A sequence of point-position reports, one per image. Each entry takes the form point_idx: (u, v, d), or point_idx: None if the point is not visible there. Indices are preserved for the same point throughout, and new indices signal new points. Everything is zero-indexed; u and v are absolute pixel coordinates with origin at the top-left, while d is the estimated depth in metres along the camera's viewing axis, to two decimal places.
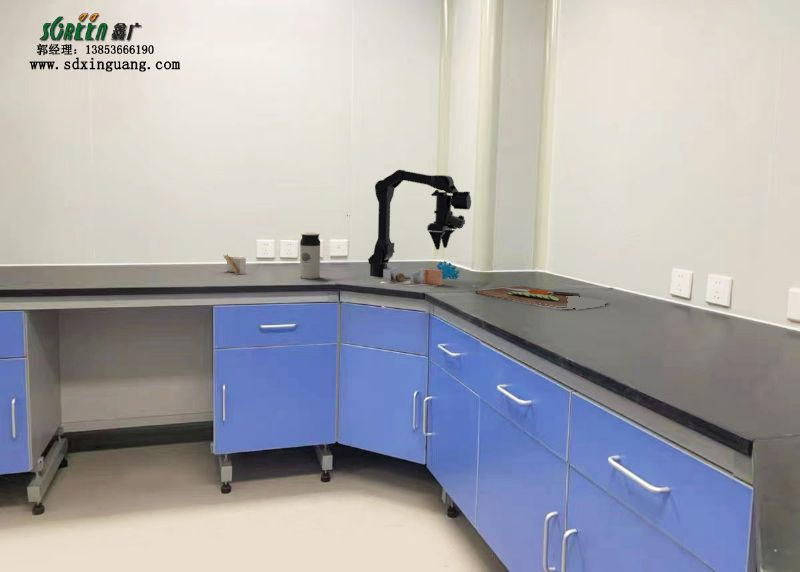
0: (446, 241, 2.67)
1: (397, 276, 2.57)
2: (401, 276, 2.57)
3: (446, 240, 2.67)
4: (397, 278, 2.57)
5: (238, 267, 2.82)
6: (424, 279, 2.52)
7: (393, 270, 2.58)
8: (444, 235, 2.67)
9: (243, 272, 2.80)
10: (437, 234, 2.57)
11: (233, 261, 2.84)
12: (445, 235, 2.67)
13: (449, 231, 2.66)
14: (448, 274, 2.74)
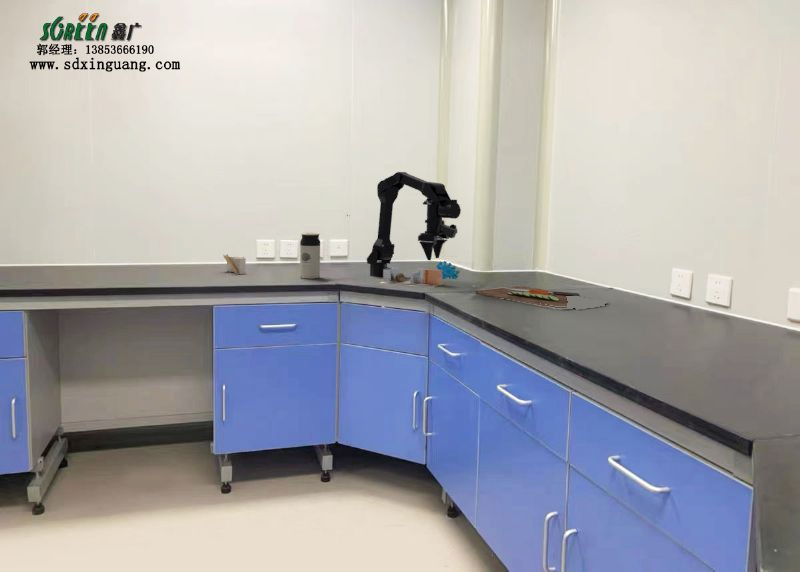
0: (438, 251, 2.56)
1: (397, 276, 2.57)
2: (401, 276, 2.57)
3: (438, 250, 2.56)
4: (397, 278, 2.57)
5: (238, 267, 2.82)
6: (424, 279, 2.52)
7: (393, 270, 2.58)
8: (436, 245, 2.57)
9: (243, 272, 2.80)
10: (428, 244, 2.47)
11: (233, 261, 2.84)
12: (437, 245, 2.57)
13: (441, 241, 2.56)
14: (448, 274, 2.75)
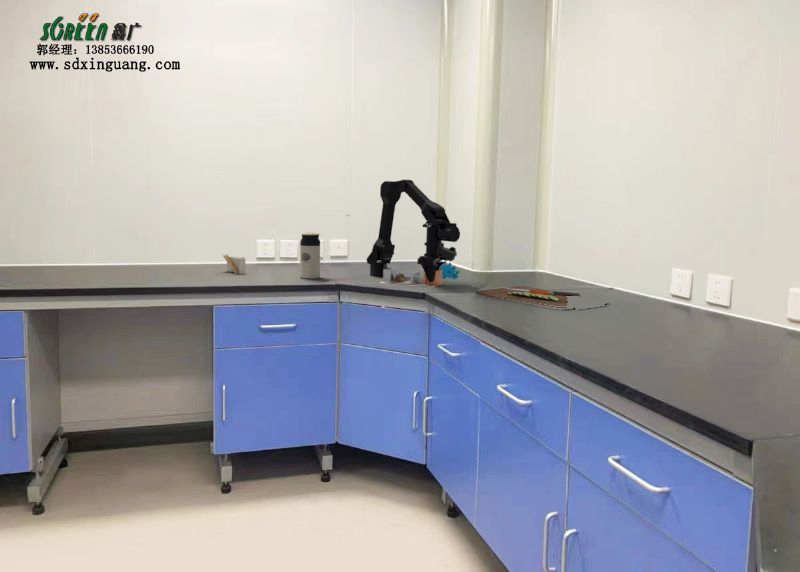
0: None
1: (397, 276, 2.57)
2: (401, 276, 2.57)
3: None
4: (397, 278, 2.57)
5: (238, 267, 2.82)
6: (424, 279, 2.52)
7: (393, 270, 2.58)
8: None
9: (243, 272, 2.80)
10: (429, 267, 2.50)
11: (233, 261, 2.84)
12: (434, 267, 2.56)
13: (439, 263, 2.55)
14: (448, 274, 2.75)
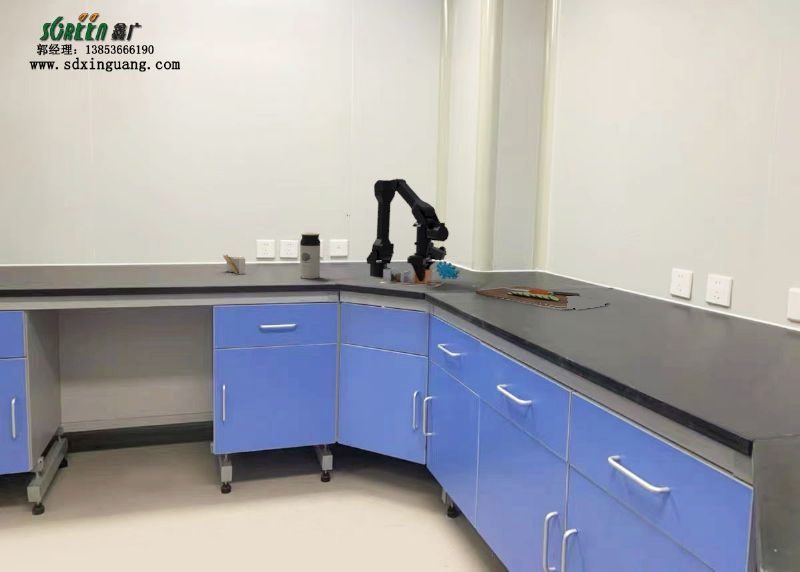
0: None
1: (396, 276, 2.58)
2: (400, 275, 2.57)
3: None
4: (396, 278, 2.58)
5: (238, 267, 2.82)
6: (414, 278, 2.54)
7: (393, 270, 2.58)
8: None
9: (243, 272, 2.80)
10: (419, 266, 2.51)
11: (233, 261, 2.84)
12: (425, 267, 2.57)
13: (429, 263, 2.57)
14: (447, 274, 2.75)
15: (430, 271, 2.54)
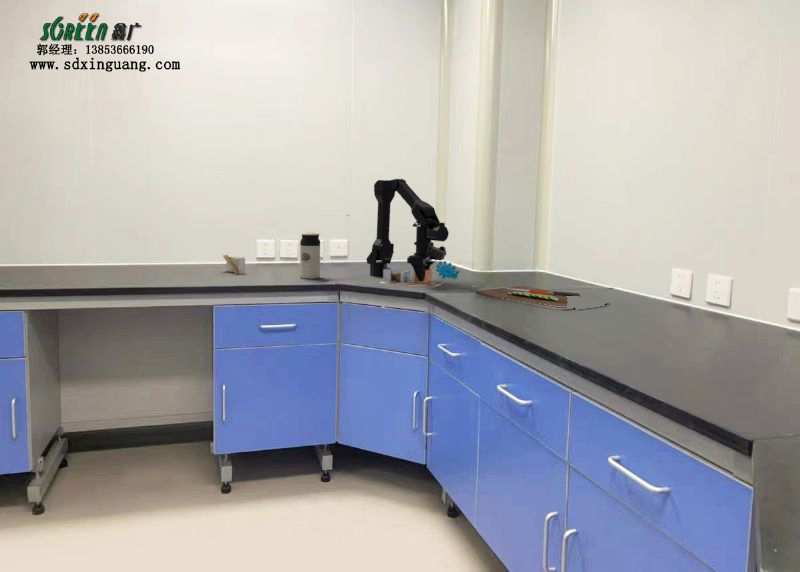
0: None
1: (396, 276, 2.58)
2: (399, 275, 2.57)
3: None
4: (396, 278, 2.58)
5: (237, 267, 2.82)
6: (414, 278, 2.54)
7: (393, 270, 2.58)
8: None
9: (242, 272, 2.80)
10: (419, 266, 2.51)
11: (232, 261, 2.84)
12: (424, 267, 2.57)
13: (428, 263, 2.57)
14: (447, 274, 2.75)
15: (430, 271, 2.54)
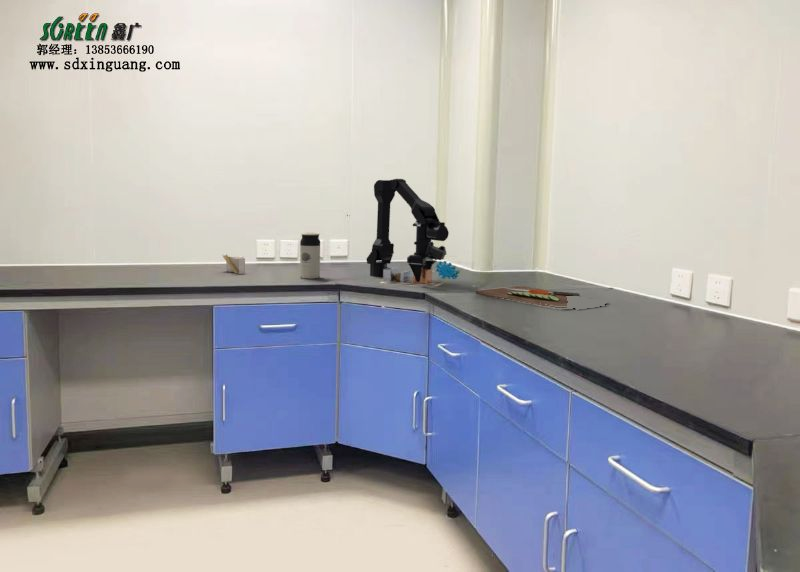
0: None
1: (396, 276, 2.58)
2: (400, 275, 2.57)
3: None
4: (396, 278, 2.58)
5: (237, 267, 2.82)
6: (414, 278, 2.54)
7: (393, 270, 2.58)
8: (425, 266, 2.59)
9: (242, 272, 2.80)
10: (417, 266, 2.49)
11: (232, 261, 2.84)
12: (426, 266, 2.59)
13: (430, 262, 2.59)
14: (447, 274, 2.75)
15: (430, 271, 2.54)
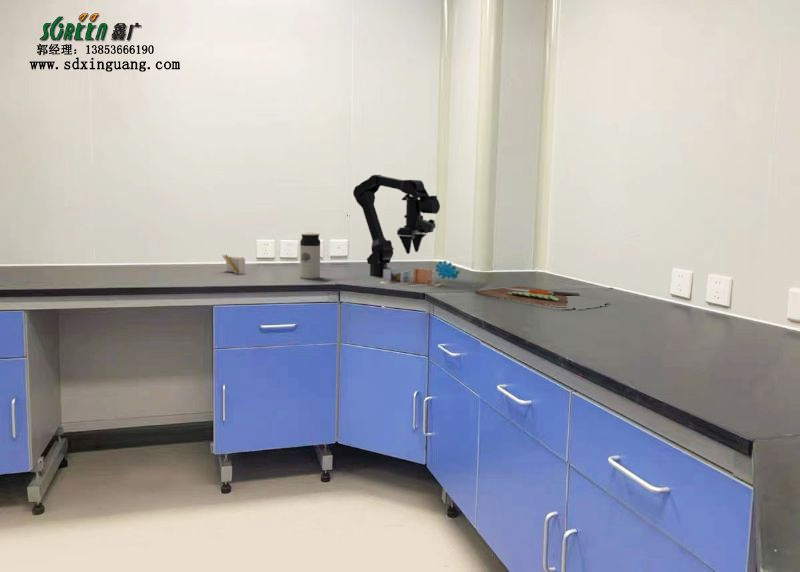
0: (417, 245, 2.68)
1: (396, 276, 2.58)
2: (400, 275, 2.57)
3: (417, 244, 2.68)
4: (396, 278, 2.58)
5: (237, 267, 2.82)
6: (414, 278, 2.54)
7: (393, 270, 2.58)
8: (415, 239, 2.68)
9: (242, 272, 2.80)
10: (407, 238, 2.58)
11: (232, 261, 2.84)
12: (416, 239, 2.68)
13: (420, 235, 2.67)
14: (447, 274, 2.75)
15: (430, 271, 2.54)
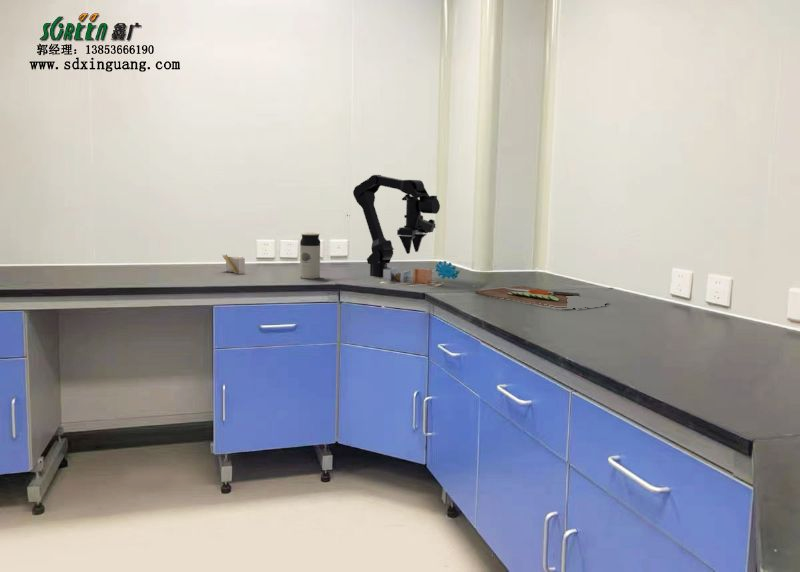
0: (417, 245, 2.68)
1: (396, 276, 2.58)
2: (400, 275, 2.57)
3: (417, 244, 2.68)
4: (396, 278, 2.58)
5: (237, 267, 2.83)
6: (414, 278, 2.54)
7: (393, 270, 2.58)
8: (415, 239, 2.68)
9: (242, 272, 2.80)
10: (407, 238, 2.58)
11: (232, 261, 2.84)
12: (416, 239, 2.68)
13: (420, 235, 2.67)
14: (447, 274, 2.75)
15: (430, 271, 2.54)
